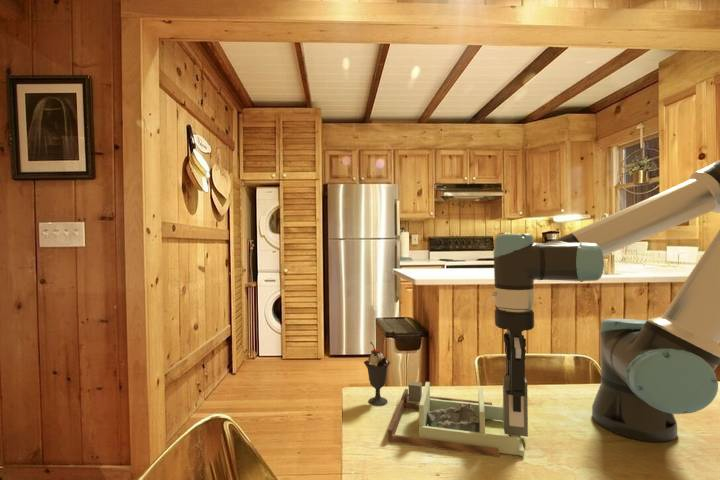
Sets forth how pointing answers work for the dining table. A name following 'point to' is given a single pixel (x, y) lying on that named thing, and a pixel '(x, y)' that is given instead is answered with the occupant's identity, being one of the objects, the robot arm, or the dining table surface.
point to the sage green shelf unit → (482, 412)
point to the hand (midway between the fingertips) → (515, 420)
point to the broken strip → (416, 393)
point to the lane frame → (428, 442)
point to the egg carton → (455, 418)
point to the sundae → (377, 375)
